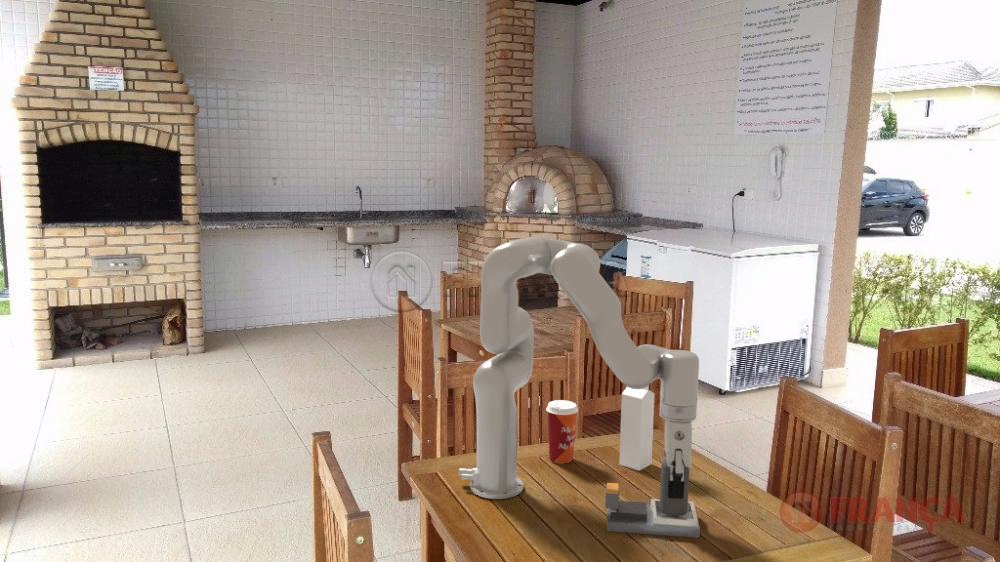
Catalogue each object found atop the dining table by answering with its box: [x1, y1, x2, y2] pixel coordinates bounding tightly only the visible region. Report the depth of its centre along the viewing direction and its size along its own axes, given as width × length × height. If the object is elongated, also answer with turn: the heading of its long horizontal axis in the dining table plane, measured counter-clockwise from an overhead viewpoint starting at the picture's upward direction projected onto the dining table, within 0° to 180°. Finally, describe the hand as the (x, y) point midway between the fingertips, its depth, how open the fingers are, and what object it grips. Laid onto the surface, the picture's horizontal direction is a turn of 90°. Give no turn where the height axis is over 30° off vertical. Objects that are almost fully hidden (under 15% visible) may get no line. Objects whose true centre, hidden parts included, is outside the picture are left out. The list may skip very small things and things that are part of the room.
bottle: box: [659, 449, 691, 516], centre depth 163 cm, size 6×6×15 cm
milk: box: [619, 385, 655, 471], centre depth 195 cm, size 6×6×22 cm
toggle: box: [605, 482, 620, 509], centre depth 166 cm, size 3×4×4 cm
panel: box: [606, 498, 701, 539], centre depth 165 cm, size 19×10×4 cm, turn 82°
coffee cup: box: [545, 399, 579, 463], centre depth 198 cm, size 8×8×15 cm
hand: (674, 490), depth 163 cm, fingers closed on bottle, 5 cm apart
